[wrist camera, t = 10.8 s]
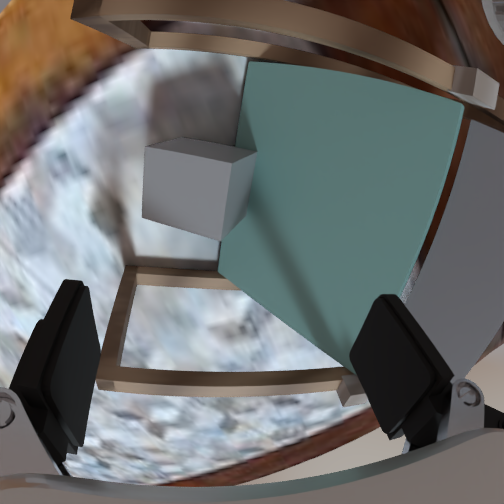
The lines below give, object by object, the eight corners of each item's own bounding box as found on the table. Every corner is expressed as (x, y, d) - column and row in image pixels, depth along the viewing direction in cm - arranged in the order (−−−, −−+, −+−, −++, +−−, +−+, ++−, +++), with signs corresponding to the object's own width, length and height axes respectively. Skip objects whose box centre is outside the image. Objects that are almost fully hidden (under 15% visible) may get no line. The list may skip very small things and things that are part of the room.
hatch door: (553, 161, 13) (575, 158, 8) (456, 365, 21) (427, 424, 16) (311, 78, 25) (248, 61, 20) (275, 251, 34) (217, 271, 29)
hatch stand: (431, 96, 23) (558, 134, 11) (371, 287, 34) (438, 386, 21) (138, 32, 18) (62, -21, 6) (126, 276, 28) (95, 409, 16)
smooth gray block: (231, 163, 18) (145, 146, 19) (220, 241, 20) (141, 217, 21) (257, 151, 22) (183, 137, 23) (246, 215, 24) (177, 197, 25)
